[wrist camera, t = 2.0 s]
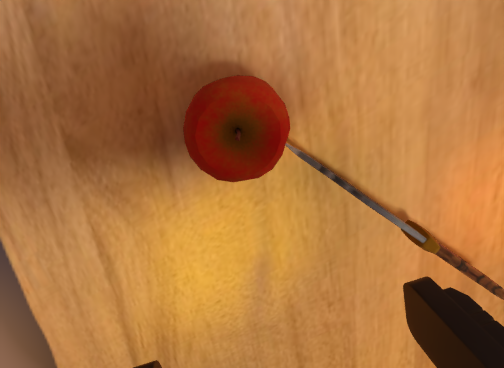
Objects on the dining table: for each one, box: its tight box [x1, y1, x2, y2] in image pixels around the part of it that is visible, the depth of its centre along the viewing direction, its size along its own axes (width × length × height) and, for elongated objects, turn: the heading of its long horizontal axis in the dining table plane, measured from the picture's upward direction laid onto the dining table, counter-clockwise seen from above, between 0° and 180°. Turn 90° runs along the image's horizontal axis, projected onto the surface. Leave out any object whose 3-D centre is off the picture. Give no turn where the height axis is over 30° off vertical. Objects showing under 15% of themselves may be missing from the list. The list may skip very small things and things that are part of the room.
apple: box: [183, 75, 290, 182], centre depth 23 cm, size 6×6×8 cm
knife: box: [285, 143, 504, 300], centre depth 29 cm, size 25×1×5 cm, turn 55°
